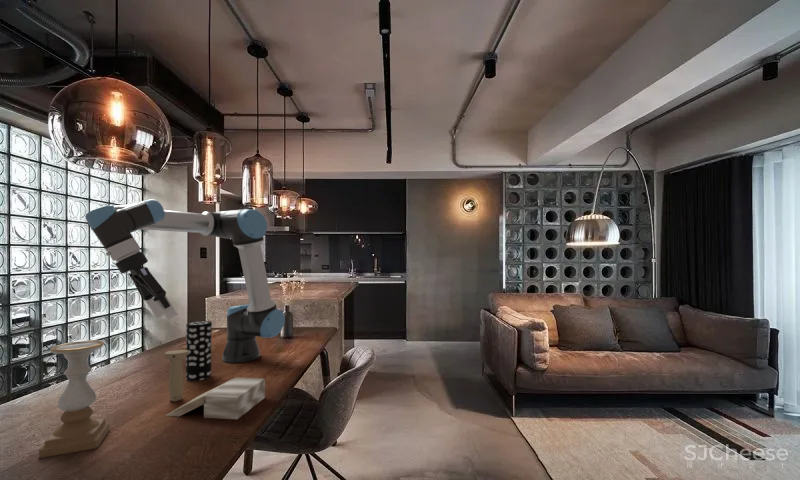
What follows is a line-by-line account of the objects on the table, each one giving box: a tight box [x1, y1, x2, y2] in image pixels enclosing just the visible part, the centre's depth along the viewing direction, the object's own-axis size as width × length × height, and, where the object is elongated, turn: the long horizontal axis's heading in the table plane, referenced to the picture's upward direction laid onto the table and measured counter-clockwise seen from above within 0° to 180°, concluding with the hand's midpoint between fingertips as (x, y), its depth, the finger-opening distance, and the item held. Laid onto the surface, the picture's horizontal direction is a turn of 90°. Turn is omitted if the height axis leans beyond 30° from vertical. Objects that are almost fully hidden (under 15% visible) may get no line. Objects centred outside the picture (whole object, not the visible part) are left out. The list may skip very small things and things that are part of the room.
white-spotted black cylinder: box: [185, 320, 213, 382], centre depth 144 cm, size 8×8×20 cm
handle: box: [164, 349, 188, 402], centre depth 122 cm, size 5×6×15 cm
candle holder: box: [38, 339, 110, 459], centre depth 95 cm, size 11×11×24 cm
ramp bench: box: [164, 377, 266, 420], centre depth 117 cm, size 16×22×8 cm
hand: (167, 316), depth 119 cm, fingers open, 13 cm apart
